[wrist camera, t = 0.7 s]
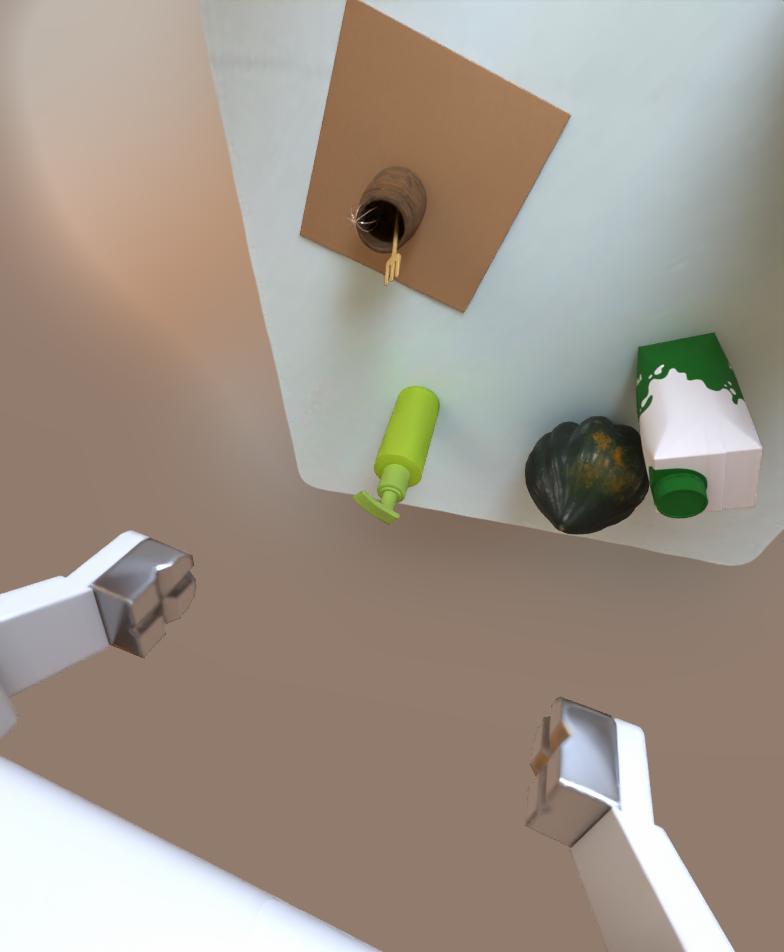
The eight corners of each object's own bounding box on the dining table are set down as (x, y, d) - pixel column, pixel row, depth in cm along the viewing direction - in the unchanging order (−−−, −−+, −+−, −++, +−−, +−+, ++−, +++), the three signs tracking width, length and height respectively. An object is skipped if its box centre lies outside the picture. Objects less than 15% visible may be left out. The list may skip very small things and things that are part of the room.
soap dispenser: (409, 373, 64) (370, 487, 51) (448, 404, 66) (420, 520, 53) (383, 397, 68) (341, 508, 55) (421, 426, 70) (388, 538, 57)
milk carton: (628, 341, 54) (648, 472, 41) (726, 322, 50) (783, 460, 37) (633, 403, 59) (652, 535, 46) (722, 390, 55) (770, 531, 42)
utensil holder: (403, 148, 45) (369, 194, 37) (442, 208, 48) (418, 262, 40) (358, 189, 48) (318, 239, 41) (397, 243, 51) (367, 299, 44)
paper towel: (348, -6, 38) (347, -6, 38) (570, 114, 40) (570, 114, 40) (300, 233, 53) (299, 234, 53) (464, 311, 56) (463, 312, 55)
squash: (698, 464, 57) (625, 512, 50) (619, 526, 69) (551, 572, 61) (612, 382, 62) (535, 414, 55) (553, 452, 74) (482, 486, 67)
